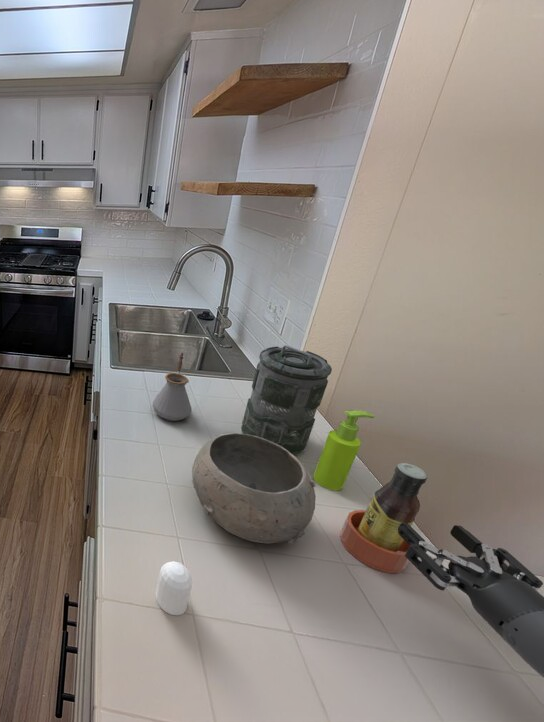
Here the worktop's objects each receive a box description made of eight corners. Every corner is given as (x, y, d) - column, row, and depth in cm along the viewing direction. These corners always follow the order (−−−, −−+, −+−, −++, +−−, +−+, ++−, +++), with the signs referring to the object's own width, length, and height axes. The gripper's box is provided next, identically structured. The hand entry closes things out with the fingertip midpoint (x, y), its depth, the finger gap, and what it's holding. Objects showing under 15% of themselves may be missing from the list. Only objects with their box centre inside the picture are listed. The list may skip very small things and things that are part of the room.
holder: (400, 542, 78) (409, 524, 76) (411, 583, 70) (422, 564, 68) (338, 519, 83) (345, 502, 81) (341, 555, 75) (350, 537, 73)
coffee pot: (188, 428, 113) (196, 384, 107) (148, 419, 118) (154, 376, 112) (193, 394, 131) (201, 354, 125) (159, 387, 135) (164, 348, 129)
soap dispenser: (353, 490, 91) (383, 420, 83) (323, 490, 91) (351, 420, 83) (335, 473, 96) (362, 405, 88) (307, 472, 96) (332, 405, 88)
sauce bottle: (356, 527, 80) (391, 451, 73) (396, 546, 76) (437, 468, 68) (351, 547, 76) (387, 468, 68) (392, 568, 72) (435, 487, 64)
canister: (317, 447, 105) (350, 355, 94) (281, 465, 99) (311, 368, 88) (263, 417, 118) (286, 333, 107) (228, 431, 112) (249, 343, 101)
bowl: (169, 477, 95) (178, 427, 89) (257, 471, 97) (271, 422, 91) (220, 564, 74) (236, 506, 68) (330, 554, 75) (355, 497, 70)
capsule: (151, 585, 70) (156, 555, 67) (179, 583, 70) (186, 553, 67) (162, 616, 65) (168, 585, 62) (192, 614, 65) (200, 582, 62)
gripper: (612, 616, 49) (481, 513, 64) (493, 609, 49) (391, 509, 64) (579, 651, 52) (462, 545, 66) (467, 645, 52) (376, 541, 67)
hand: (427, 527), depth 65 cm, fingers open, 8 cm apart
